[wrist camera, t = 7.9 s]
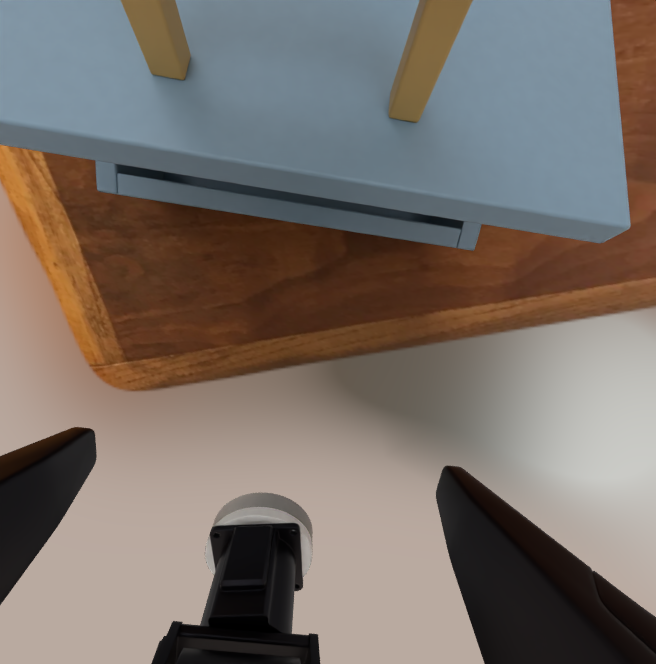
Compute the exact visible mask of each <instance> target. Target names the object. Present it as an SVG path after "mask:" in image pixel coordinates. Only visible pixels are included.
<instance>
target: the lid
mask: <svg viewBox="0 0 656 664" xmlns="http://www.w3.org/2000/svg"><path fill="white" fill-rule="evenodd" d="M0 145H5V146H11V147H18V148H24V149H30V150H36V151H42V152H48V153H54V154H60V155H66V156H72V157H78V158H84V159H90V160H97V161H103V162H109V163H115V164H121V165H127V166H133V167H139V168H145V169H151V170H157V171H163V172H169V173H176V174H182V175H188V176H194V177H200V178H206V179H212V180H218V181H224V182H230V183H236V184H242V185H248V186H254V187H261V188H267V189H273V190H279V191H285V192H291V193H297V194H303V195H309V196H315V197H321V198H327V199H333V200H340V201H346V202H352V203H358V204H364V205H370V206H376V207H382V208H388V209H394V210H400V211H406V212H412V213H419V214H425V215H431V216H437V217H443V218H449V219H455V220H461V221H467V222H473V223H479V224H485V225H491V226H498V227H504V228H510V229H516V230H522V231H528V232H534V233H540V234H546V235H552V236H558V237H564V238H570V239H577V240H583V241H589V242H595V243H603V242H605V241H607V240H609V239H611V238H613V237H614V236H616V235H618V234H620V233H622V232H624V231H626V230H628V229H629V228H630V226H631V224H630V214H629V203H628V192H627V181H626V170H625V159H624V148H623V137H622V126H621V115H620V104H619V93H618V82H617V71H616V60H615V49H614V38H613V27H612V16H611V5H610V0H0Z"/></svg>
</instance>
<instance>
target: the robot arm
mask: <svg viewBox="0 0 656 664" xmlns="http://www.w3.org/2000/svg"><path fill="white" fill-rule="evenodd" d="M95 462H96V443H95V433H94V431H93V430H92V429H90V428H81V427H74V428H71V429H68V430H66V431H63V432H61V433H58V434H56V435H53V436H50V437H48V438H46V439H43V440H41V441H38V442H35V443H33V444H30V445H27V446H25V447H22V448H20V449H17V450H15V451H12V452H10V453H7V454H5V455H2V456H0V605H1V603H2V602H3V600H4V599H5V598H6V596H7V595H8V594H9V592H10V591H11V590H12V588H13V587H14V585H15V584H16V583H17V581H18V580H19V579H20V577H21V576H22V574H23V573H24V572H25V570H26V569H27V568H28V566H29V565H30V563H31V562H32V561H33V560H34V558H35V556H36V555H37V554H38V553H39V551H40V550H41V549H42V547H43V546H44V544H45V543H46V542H47V540H48V539H49V537H50V536H51V535H52V533H53V532H54V531H55V529H56V528H57V526H58V525H59V523H60V522H61V520H62V519H63V517H64V515H65V514H66V512H67V510H68V508H69V507H70V505H71V504H72V502H73V500H74V499H75V497H76V495H77V494H78V492H79V490H80V489H81V487H82V485H83V484H84V482H85V480H86V479H87V477H88V475H89V473H90V472H91V470H92V468H93V467H94V464H95ZM436 499H437V504H438V509H439V513H440V517H441V522H442V526H443V531H444V535H445V539H446V544H447V549H448V553H449V556H450V560H451V563H452V567H453V570H454V572H455V576H456V578H457V582H458V585H459V588H460V591H461V594H462V597H463V600H464V603H465V606H466V609H467V612H468V615H469V618H470V621H471V624H472V627H473V630H474V633H475V636H476V639H477V642H478V645H479V648H480V651H481V654H482V657H483V660H484V663H485V664H656V617H655V616H653V615H652V614H651V613H649V612H648V611H646V610H645V609H644V608H642V607H641V606H640V605H638V604H637V603H636V602H634V601H633V600H632V599H630V598H629V597H628V596H626V595H625V594H624V593H622V592H621V591H620V590H618V589H617V588H616V587H615V586H613V585H612V584H611V583H609V582H608V581H607V580H606V579H604V578H603V577H602V576H600V575H599V574H598V573H597V572H595V571H592V570H591V568H590V567H589V566H587V565H586V564H585V563H584V562H582V561H581V560H579V559H578V558H577V557H576V556H575V555H573V554H572V553H571V552H569V551H568V550H567V549H566V548H564V547H563V546H562V545H560V544H559V543H558V542H556V541H555V540H554V539H553V538H551V537H550V536H549V535H547V534H546V533H545V532H544V531H542V530H541V529H540V528H538V527H537V526H536V525H535V524H533V523H532V522H531V521H529V520H528V519H527V518H526V517H524V516H523V515H522V514H520V513H519V512H518V511H517V510H515V509H514V508H513V507H511V506H510V505H509V504H508V503H506V502H505V501H504V500H502V499H501V498H500V497H499V496H497V495H496V494H495V493H493V492H492V491H491V490H490V489H488V488H487V487H485V486H484V485H483V484H482V483H480V482H479V481H478V480H476V479H475V478H474V477H473V476H471V475H470V474H469V473H468V472H466V471H465V470H464V469H462V468H461V467H457V466H445V467H444V468H443V470H442V473H441V477H440V480H439V483H438V486H437V490H436ZM293 530H294V531H293ZM210 541H211V547H212V553H213V559H214V565H215V575H214V578H213V582H212V586H211V589H210V593H209V596H208V599H207V603H206V607H205V610H204V613H203V617H202V621H201V624H200V625H189V624H182V622H177V621H173V622H172V624H171V627H170V629H169V631H168V634H167V636H164V637H163V639H162V640H161V641H160V642H159V645H158V648H157V650H156V653H155V656H154V658H153V661H152V664H320V656H319V643H318V635H317V634H309V635H299V634H292V620H293V604H294V591H299V590H301V589H302V588H303V570H302V551H301V532H300V526H299V525H298V524H297V523H273V524H245V525H217V526H214V527H212V529H211V532H210Z"/></svg>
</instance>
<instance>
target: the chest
mask: <svg viewBox="0 0 656 664" xmlns="http://www.w3.org/2000/svg"><path fill="white" fill-rule="evenodd" d="M96 178H97V190H98V191H100V192H105V193H111V194H119V195H124V196H130V197H136V198H143V199H149V200H155V201H162V202H168V203H174V204H181V205H187V206H193V207H200V208H206V209H212V210H219V211H225V212H231V213H238V214H244V215H250V216H257V217H263V218H269V219H276V220H282V221H288V222H294V223H301V224H307V225H313V226H320V227H326V228H332V229H339V230H345V231H351V232H358V233H364V234H370V235H377V236H383V237H389V238H396V239H402V240H408V241H415V242H421V243H427V244H434V245H440V246H446V247H453V248H459V249H465V250H472V251H473V250H474V249H475V246H476V242H477V239H478V235H479V232H480V228H481V225H482V224H479V223H473V222H467V221H461V220H455V219H449V218H443V217H437V216H431V215H425V214H419V213H412V212H406V211H400V210H394V209H388V208H382V207H376V206H370V205H364V204H358V203H352V202H346V201H340V200H333V199H327V198H321V197H315V196H309V195H303V194H297V193H291V192H285V191H279V190H273V189H267V188H261V187H254V186H248V185H242V184H236V183H230V182H224V181H218V180H212V179H206V178H200V177H194V176H188V175H182V174H176V173H169V172H163V171H157V170H151V169H145V168H139V167H133V166H127V165H121V164H115V163H109V162H103V161H97V160H96Z"/></svg>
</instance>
